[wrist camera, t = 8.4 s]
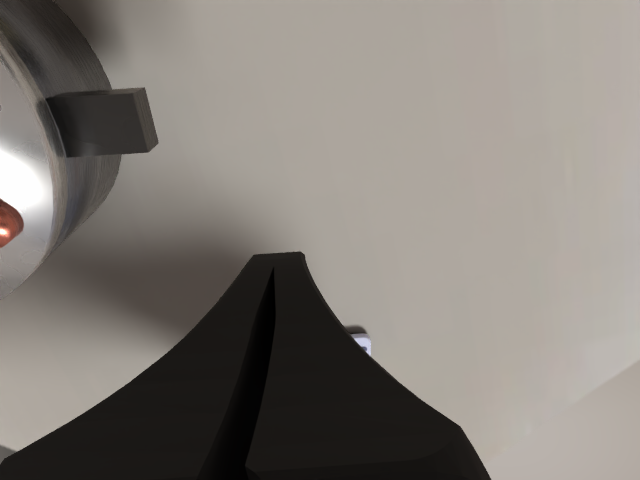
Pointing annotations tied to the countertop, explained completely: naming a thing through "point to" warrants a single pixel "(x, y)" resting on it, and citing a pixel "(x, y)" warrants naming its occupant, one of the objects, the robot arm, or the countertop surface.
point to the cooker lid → (27, 173)
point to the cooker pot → (78, 103)
